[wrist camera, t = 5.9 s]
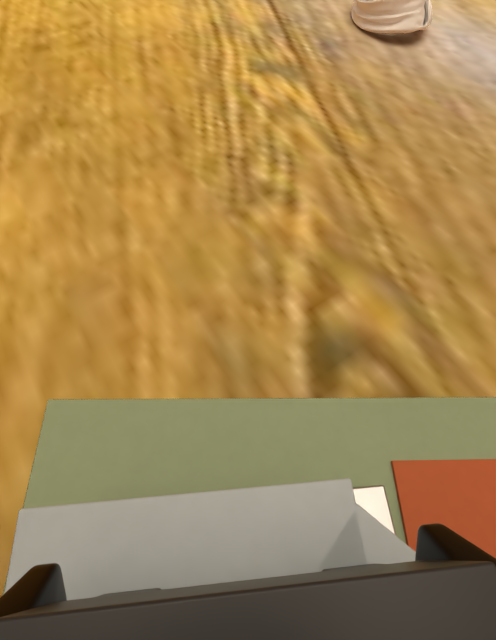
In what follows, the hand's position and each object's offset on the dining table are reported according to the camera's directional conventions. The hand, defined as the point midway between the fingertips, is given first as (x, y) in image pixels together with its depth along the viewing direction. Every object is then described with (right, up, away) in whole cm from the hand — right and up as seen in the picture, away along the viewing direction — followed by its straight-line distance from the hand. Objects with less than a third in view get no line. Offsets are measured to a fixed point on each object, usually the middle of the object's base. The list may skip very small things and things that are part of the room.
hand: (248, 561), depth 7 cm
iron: (0, -5, +6) cm, 8 cm away
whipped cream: (+12, +31, +28) cm, 44 cm away
